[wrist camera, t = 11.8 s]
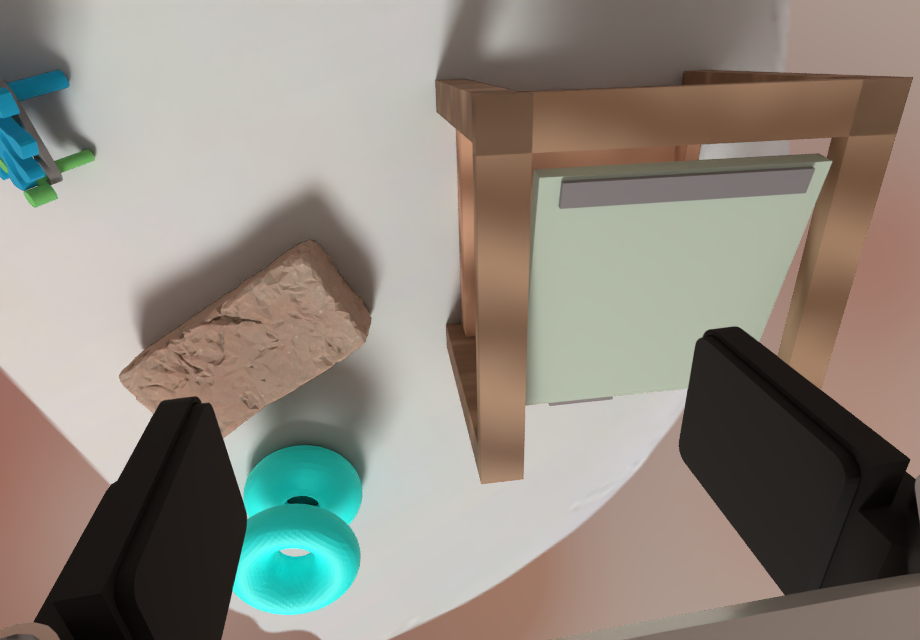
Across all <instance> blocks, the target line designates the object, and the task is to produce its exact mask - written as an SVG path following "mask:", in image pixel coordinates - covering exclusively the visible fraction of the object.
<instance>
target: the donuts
mask: <svg viewBox="0 0 920 640" xmlns="http://www.w3.org/2000/svg"><path fill="white" fill-rule="evenodd" d="M296 496H308V497H311V498H313V499H315V500H316V501H317V502H318V503H319V504H318V505H316V506H313V505H307V504H289V503H288V502H287V500H289V499H290V498H293V497H296ZM361 501H362V485H361V481H360V478H359V476H358V473H357V472H356V470H355V469H354V467H353V466H352V465H351V464H350V463H349V462H348V461H347V460H346V459H345V458H344V457H342V456H341V455H339V454H338V453H336V452H334V451H332V450H329V449H326V448H323V447H319V446H312V445H297V446H291V447H287V448H283V449H280V450H278V451H275V452H273V453H272V454H270V455H268V456H266V457H265V458H264V459H262V460H261V461H260V462H259V463H258V464H257V465H256V466H255V467H254V469H253V470H252V471H251V473H250V474H249V476H248V478H247V481H246V484H245V487H244V506H245V509H246V512H247V514H248V516H249V519H247V529H246V534H245V538H244V542H243V547H242V551H241V556H240V560H239V564H238V569H237V573H236V577H235V582H234V586H233V590H232V591H233V592H234V593H235V594H236V595H237V596H238V597H239V598H240V599H241V600H243V601H244V602H245V603H247V604H249V605H250V606H252V607H254V608H256V609H259V610H262V611H265V612H269V613H274V614H283V615H294V614H303V613H308V612H312V611H315V610H318V609H320V608H323V607H325V606H327V605H329V604H331V603H332V602H334V601H335V600H337V599H338V598H340V597H341V596H342V595H343V594H344V593H345V592H346V591H347V590H348V589H349V587H350V586H351V585H352V583H353V581H354V580H355V578H356V575H357V573H358V570H359V566H360V547H359V543H358V540H357V538H356V536H355V534H354V532H353V531H352V529H351V528H350V526H349V524H350V523H351V522H352V520H353V519H354V518H355V516H356V514H357V513H358V510H359V508H360V505H361ZM287 548H298V549H304V550H307V551H309V552H311V553H309V554H307V555H304V556H299V557H292V556H287V555H285V554H283V553H281V552H280V551H279V550H282V549H287Z"/></svg>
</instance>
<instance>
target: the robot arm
mask: <svg viewBox="0 0 920 640" xmlns="http://www.w3.org/2000/svg"><path fill="white" fill-rule="evenodd" d="M679 451H680V454H681V457H682V459H683V461H684V462H685V464H686V465H687V466H688V468H689V469H690V470H691V472H692V473H693V474H694V475H695V477H696V478H697V480H698V481H699V482H700V483H701V484H702V486H703V487H704V489H705V490H706V491H707V493H708V494H709V495H710V497H711V498H712V499H713V501H714V502H715V503H716V505H717V506H718V507H719V509H720V510H721V511H722V513H723V514H724V515H725V516H726V518H727V519H728V521H729V522H730V523H731V524H732V526H733V527H734V528H735V530H736V531H737V532H738V534H739V535H740V536H741V538H742V539H743V540H744V541H745V543H746V544H747V546H748V547H749V548H750V549H751V551H752V552H753V554H754V555H755V556H756V558H757V559H758V560H759V562H760V563H761V564H762V566H763V567H764V568H765V570H766V571H767V572H768V573H769V575H770V576H771V577H772V579H773V580H774V581H775V583H776V584H777V585H778V587H779V588H780V589H781V591H782V592H783V593H784V595H785V596H779V597H774V598H769V599H763V600H758V601H752V602H747V603H742V604H737V605H731V606H725V607H720V608H715V609H709V610H704V611H699V612H693V613H688V614H682V615H677V616H672V617H666V618H662V619H656V620H651V621H646V622H640V623H635V624H630V625H625V626H619V627H614V628H609V629H604V630H598V631H593V632H588V633H583V634H578V635H572V636H567V637H561V638H557V639H551V640H920V475H919V476H918V477H917V478H916V479H915V478H913V477H912V476H911V475H910V474H908V473H907V472H906V469H907V467H908V464H909V462H910V459H909V458H908V457H907V456H906V455H904V454H903V453H902V452H900V451H899V450H898V449H896V448H895V447H894V446H893V445H891V444H890V443H889V442H887V441H886V440H884V439H883V438H882V437H881V436H880V435H878V434H877V433H876V432H875V431H873V430H872V429H871V428H869V427H868V426H867V425H865V424H864V423H862V421H860V420H859V419H858V418H856V417H855V416H854V415H852V414H851V413H850V412H849V411H847V410H846V409H845V408H844V407H842V406H841V405H840V404H838V403H837V402H836V401H835V400H833V399H832V398H831V397H829V396H828V395H827V394H825V393H824V392H823V391H822V390H820V389H819V388H818V387H816V386H815V385H814V384H813V383H811V382H810V381H809V380H807V379H806V378H805V377H804V376H802V375H801V374H800V373H798V372H797V371H796V370H794V369H793V368H792V367H791V366H789V365H788V364H787V363H785V362H784V361H783V360H782V359H780V358H779V357H778V356H776V355H775V354H774V353H773V352H771V351H770V350H769V349H767V348H766V347H765V346H763V345H762V344H761V343H760V342H758V341H757V340H756V339H754V338H753V337H752V336H751V335H749V334H748V333H747V332H745V331H744V330H743V329H741V328H740V327H738V326H732V327H725V328H717V329H709V330H707V331H705V333H704V334H703V337H702V338H699V339H698V340H697V341H696V344H695V349H694V355H693V361H692V367H691V373H690V379H689V385H688V391H687V397H686V403H685V409H684V415H683V421H682V427H681V433H680V439H679ZM246 529H247V514H246V509H245V506H244V503H243V500H242V497H241V493H240V490H239V487H238V484H237V481H236V478H235V475H234V471H233V468H232V465H231V462H230V459H229V456H228V453H227V450H226V446H225V443H224V440H223V437H222V434H221V431H220V428H219V425H218V421H217V418H216V415H215V412H214V409H213V407H212V405H211V404H210V403H202V402H201V400H200V399H199V398H198V397H197V396H192V397H185V398H177V399H169V400H163V401H161V403H160V404H159V405H158V407H157V409H156V411H155V413H154V414H153V416H152V418H151V420H150V422H149V424H148V425H147V427H146V429H145V431H144V433H143V435H142V436H141V438H140V440H139V442H138V444H137V446H136V447H135V449H134V451H133V453H132V455H131V457H130V459H129V460H128V462H127V464H126V466H125V468H124V470H123V471H122V473H121V475H120V477H119V479H118V481H116V482H115V483H113V484H111V486H110V487H109V488H108V490H107V491H106V493H105V494H104V496H103V498H102V500H101V501H100V503H99V505H98V507H97V509H96V511H95V512H94V514H93V516H92V518H91V519H90V521H89V523H88V525H87V527H86V529H85V530H84V532H83V534H82V536H81V537H80V539H79V541H78V543H77V545H76V547H75V548H74V550H73V552H72V554H71V555H70V557H69V559H68V561H67V563H66V565H65V566H64V568H63V570H62V572H61V574H60V575H59V577H58V579H57V581H56V582H55V584H54V586H53V588H52V590H51V591H50V593H49V595H48V597H47V599H46V600H45V602H44V604H43V606H42V608H41V609H40V611H39V613H38V615H37V617H36V618H35V620H34V622H33V623H23V624H16V625H13V626H10V627H7V628H4V629H1V630H0V640H221V638H222V634H223V629H224V625H225V621H226V616H227V612H228V608H229V603H230V599H231V595H232V590H233V586H234V582H235V577H236V573H237V569H238V564H239V560H240V556H241V551H242V547H243V542H244V538H245V534H246Z"/></svg>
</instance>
